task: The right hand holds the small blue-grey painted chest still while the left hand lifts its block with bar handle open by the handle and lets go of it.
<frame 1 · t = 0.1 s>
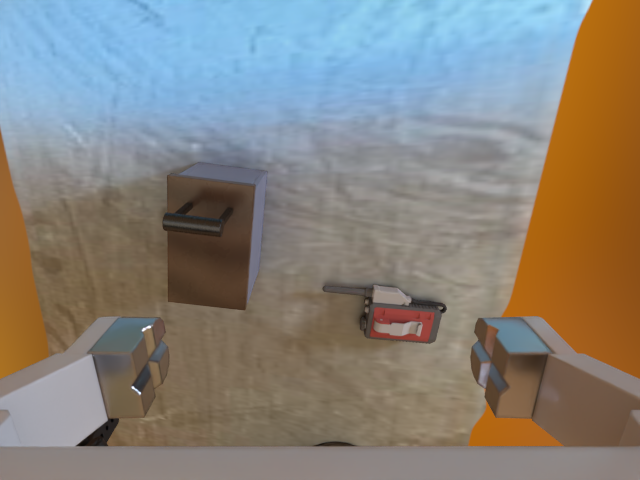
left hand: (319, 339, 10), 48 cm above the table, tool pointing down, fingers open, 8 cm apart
block with bar handle: (201, 257, 45), point 15 cm above the table, hinge at 0.0°
walkie-talkie: (381, 307, 65), on the table
chest: (230, 218, 59), on the table
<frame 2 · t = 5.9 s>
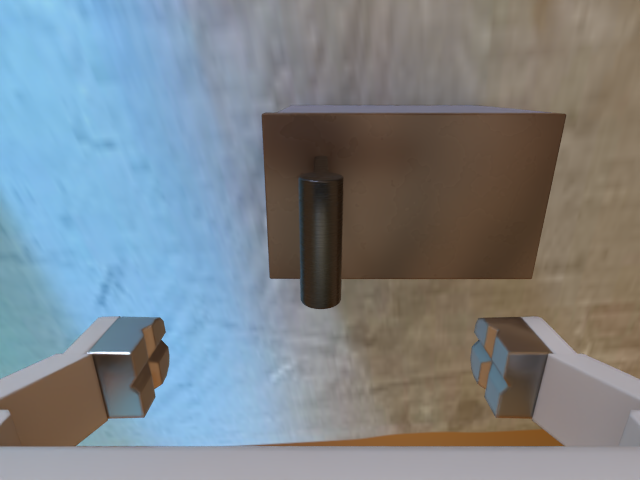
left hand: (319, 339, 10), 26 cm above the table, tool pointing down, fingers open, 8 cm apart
block with bar handle: (418, 218, 20), point 15 cm above the table, hinge at 0.0°
chest: (381, 165, 35), on the table
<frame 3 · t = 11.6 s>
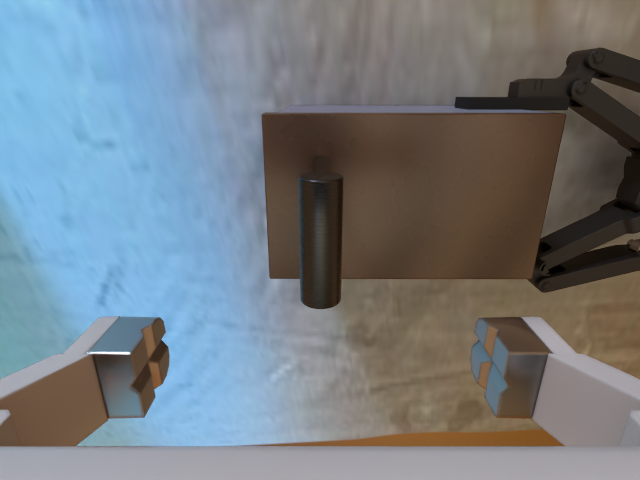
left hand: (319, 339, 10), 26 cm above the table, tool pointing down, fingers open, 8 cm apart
block with bar handle: (418, 218, 20), point 15 cm above the table, hinge at 0.0°
chest: (381, 165, 35), on the table, touching right hand
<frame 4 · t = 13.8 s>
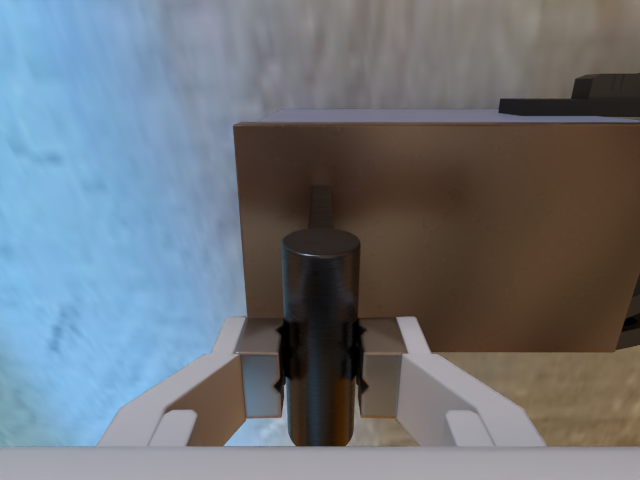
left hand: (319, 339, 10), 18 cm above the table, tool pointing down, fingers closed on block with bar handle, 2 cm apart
block with bar handle: (470, 285, 13), point 15 cm above the table, hinge at -0.1°, touching left hand
chest: (397, 183, 28), on the table, touching right hand
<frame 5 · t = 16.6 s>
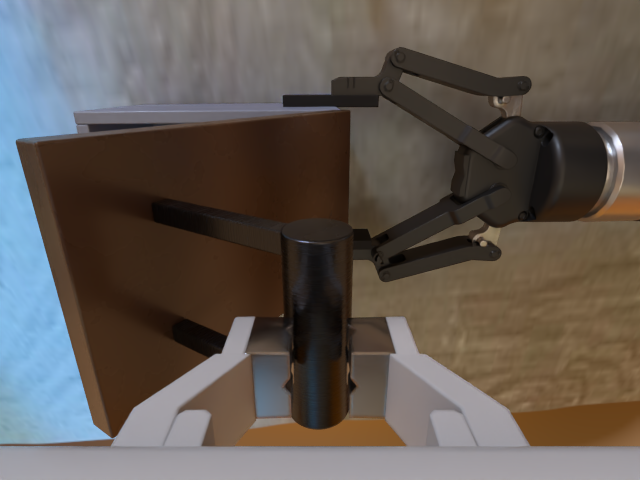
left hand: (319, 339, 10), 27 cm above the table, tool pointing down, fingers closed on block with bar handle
right hand: (286, 174, 30), fingers closed on chest, 10 cm apart
block with bar handle: (317, 245, 17), point 21 cm above the table, hinge at 55.5°, touching left hand
chest: (242, 161, 36), on the table, touching right hand
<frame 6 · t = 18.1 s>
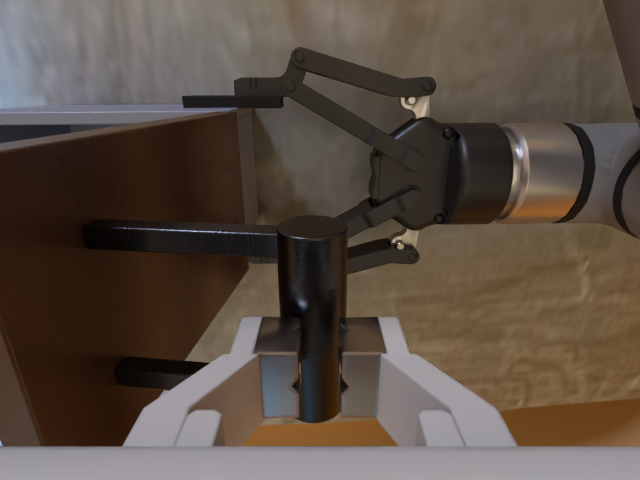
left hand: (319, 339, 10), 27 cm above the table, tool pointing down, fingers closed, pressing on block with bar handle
right hand: (197, 177, 29), fingers closed on chest, 10 cm apart
block with bar handle: (252, 248, 16), point 20 cm above the table, hinge at 80.1°, touching left hand
chest: (165, 163, 35), on the table, touching right hand
when the right hand's fingers open (6 cm above the table, at t = 22.5 s): chest stays where it is, on the table.
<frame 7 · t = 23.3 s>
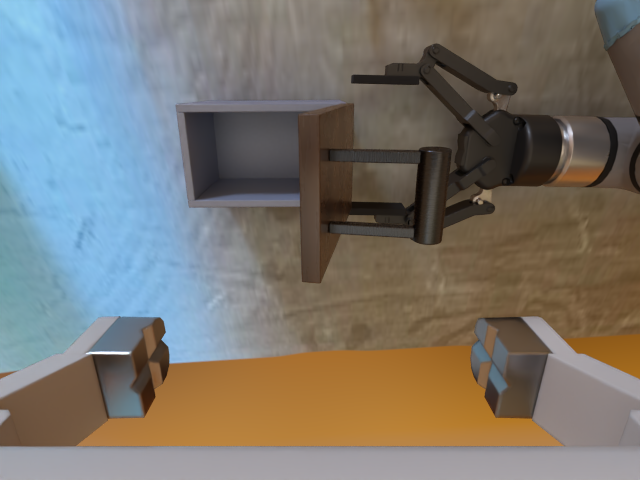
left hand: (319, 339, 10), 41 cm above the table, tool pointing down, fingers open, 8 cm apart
right hand: (348, 147, 43), fingers open, 13 cm apart
block with bar handle: (380, 177, 29), point 20 cm above the table, hinge at 79.0°
chest: (275, 143, 48), on the table
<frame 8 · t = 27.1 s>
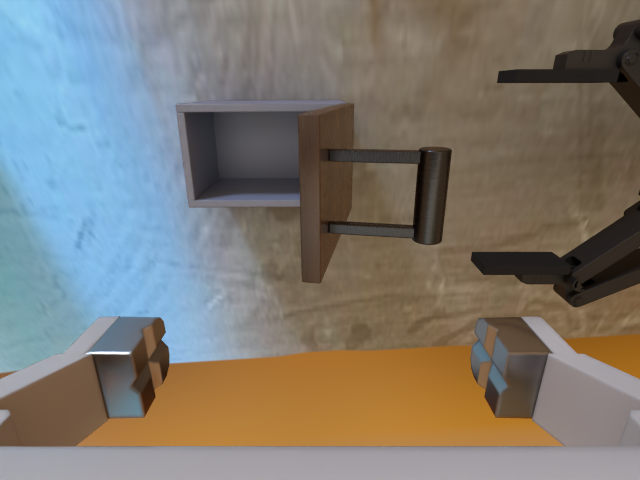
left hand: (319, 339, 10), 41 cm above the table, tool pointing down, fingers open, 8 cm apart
block with bar handle: (380, 177, 29), point 21 cm above the table, hinge at 79.0°
chest: (275, 143, 48), on the table
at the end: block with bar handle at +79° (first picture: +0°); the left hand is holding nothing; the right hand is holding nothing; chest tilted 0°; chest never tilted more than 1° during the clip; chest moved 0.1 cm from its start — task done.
